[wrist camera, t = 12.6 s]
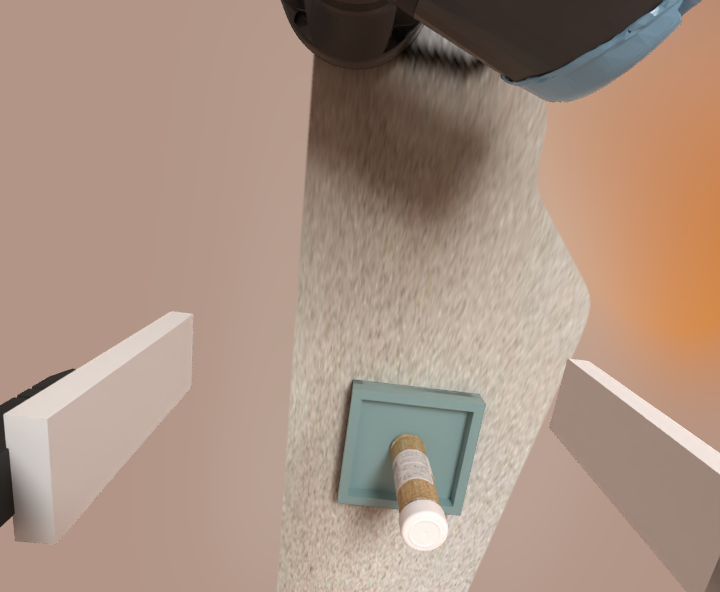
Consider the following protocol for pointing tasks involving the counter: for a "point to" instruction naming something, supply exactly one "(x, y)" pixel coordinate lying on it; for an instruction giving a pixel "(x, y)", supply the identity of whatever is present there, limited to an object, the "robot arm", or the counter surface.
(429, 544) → the sprinkles bottle
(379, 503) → the tray
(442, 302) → the counter surface
